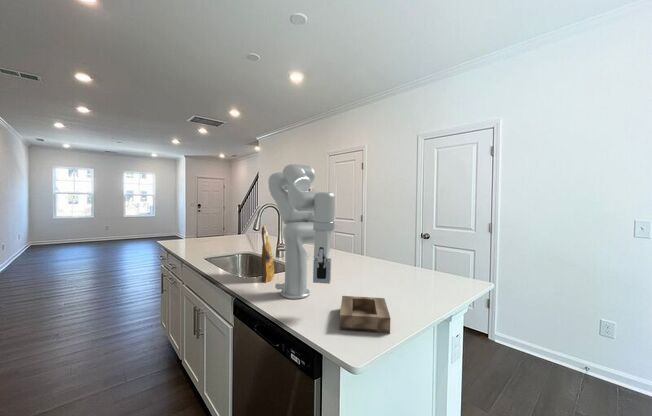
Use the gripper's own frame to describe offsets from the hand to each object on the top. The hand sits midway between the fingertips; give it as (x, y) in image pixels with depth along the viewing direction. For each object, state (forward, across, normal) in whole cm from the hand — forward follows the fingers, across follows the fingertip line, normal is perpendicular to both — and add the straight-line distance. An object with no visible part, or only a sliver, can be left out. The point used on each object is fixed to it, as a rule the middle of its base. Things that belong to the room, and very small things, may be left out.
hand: (322, 275), depth 102 cm
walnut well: (+14, +3, +15) cm, 21 cm away
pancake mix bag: (+15, -41, -34) cm, 55 cm away
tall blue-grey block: (+2, 0, 0) cm, 2 cm away
